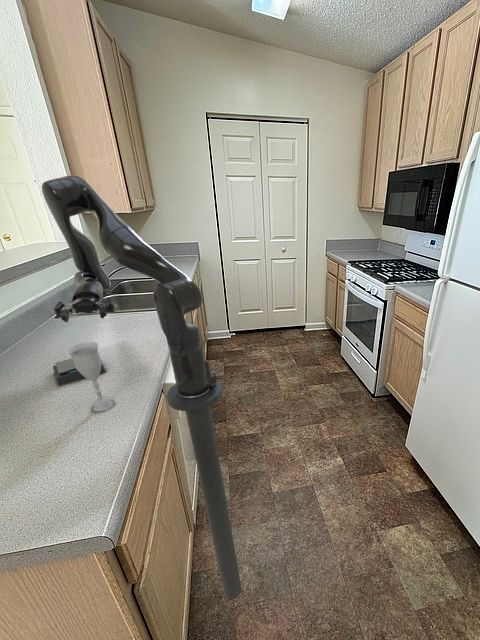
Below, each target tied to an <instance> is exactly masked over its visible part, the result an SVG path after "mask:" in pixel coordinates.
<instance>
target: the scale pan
mask: <svg viewBox="0 0 480 640" xmlns="http://www.w3.org/2000/svg"><path fill="white" fill-rule="evenodd" d="M54 364H55V365H56V367H57V370H58V372H59V374H62V373H66V372H69V371H73V370H76V367H75V364H74V362H73V359H72V358H67V359H64V360H60V361H57V362H54Z"/></svg>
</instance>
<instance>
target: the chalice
mask: <svg viewBox="0 0 480 640" xmlns="http://www.w3.org/2000/svg"><path fill="white" fill-rule="evenodd" d="M98 349H99V343H98V342H95V341H89V342H87V341H86V342H82V343H78V344H75V345H73V346H71V347H69V348H68V349H67V350H66V352H67V353H68V354H69V355H70V356H71V359H73V362H74V364H75V367H76V369H77V370H78V371H79V372H80V374H82V375H83V376H84V377H85V378H84V379H86V380H87V381H90V382H91V381H92V383H93V384H92V388H94V390H95V391H94V394H96V395H97V398H95V400H94V401H93V408H92V410H93V411H94V412H105V411H106V410H109V409H110V408H113V405H114V402H113V401H112V400H111V399H110V398H109V397H108V396H104V395H102V389H101V388H100V383H98V381H97V379H99V378H100V375H101V374H100V371H101V363H102V359H101V356H100V353H99V350H98Z"/></svg>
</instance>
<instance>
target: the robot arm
mask: <svg viewBox="0 0 480 640" xmlns="http://www.w3.org/2000/svg"><path fill="white" fill-rule="evenodd" d="M41 192H42V196H43V198H44V201H45V203H46V205H47V207H48V209H49V211H50V213H51V215H52V217H53V219H54V221H55V223H56V225H57V227H58V228H59V231H60V232H61V233H62V236H63V238H64V240H65V242H66V244H67V246H68V249H69V252H70V255H71V258H72V261H73V263H74V267H75V268H76V269H77V270H78V271H77V272H75V274H74V275H73V276H74V277H73V281H74V285H75V287H76V288H75V289H74V292H73V295H72V299H71V301H70V302H69V303H65V302H64V301H58V302H57V303H56V305H55V307H53V310H54V313H55V317H56V318H61V321H64V323H68V322H69V320H70V317H72V316H74V317H75V316H79V315H80V314H99V316H100V319H105V317H107V315H108V313H115V311H116V310H115V303H114V301H113V298H112V297H107V299H106V300H104V294H103V293H104V292H105V291H108V290H109V289H110V287H111V279H110V276H109V275H108V273H107V272H106V270H105V269H104V267H103V266H102V264H101V262H100V259H99V255H98V251H97V248H96V245H95V244H94V242H93V241H92V240H91V239H90V238H89V237H88V236H87V235H86V234H84V233H82V232H81V231H80V230H79V229H77V228H76V227H75V226H74V225H73V223H72V221H71V217H74V216H77V215H80V214H84V213H87V212H88V213H91V214H92V215H93V216H94V217H95V218H96V220H97V227H98V229H97V230H98V238H99V242H100V245H101V247H102V248H103V249H104V251H106V252H107V253H108V254H109V255H110V256H111V257H112V258H113V259H114V260H115V261H116V262H117V263H118V264H120V265H121V266H122V267H124V268H125V269H128V270H130V271H133V272H135V273H138V274H139V275H143V276H145V277H147V278H150V279H152V280H154V281H156V282H158V284H157V285H156V286H155V287H154V290H153V293H152V295H153V297H152V298H153V303H154V306H155V311H156V314H157V317H158V321H159V324H160V328H161V330H162V333H163V334H164V336H165V339H166V343H167V349H168V353H169V357H170V363H171V366H172V371H173V375H174V380H175V384H176V385H177V390H178V395H179V396H180V397H182V398H185V399H194V398H199V397H202V396H204V395H205V394H207V393H208V392H209V391H210V390H212V389H213V387H212V384H215V383H216V381H218V378H217V376H216V375H215V374H214V373H213V372H211V369H210V363H209V360H207V359H206V355H205V350H204V348H205V347H204V343H203V337H202V330H201V328H200V326H199V325H198V324H196V323H190V322H186V317H185V315H187V314H189V313H191V312H193V311H196V310H198V309H199V308H200V307H201V306H202V305H203V302H204V301H203V300H204V299H203V298H204V297H203V293H202V291H201V289H200V287H199V286H198V284H196V282H195V281H194V280H193V279H191V278H190V277H189V276H188V275H186V274H185V273H184V272H183V271H181V270H180V269H179V268H177V267H176V266H175V265H174V264H173V263H171V262H170V261H168V260H167V259H166V258H165V257H164V256H162V255H161V253H159V252H158V251H157V250H155V249H154V248H153V247H152V246H151V245H150V243H148V242H147V241H146V240H145V239H144V238H143V237H142V236H141V235H140V234H139V233H138V232H137V231H136V230H135V229H133V228H132V227H131V225H129V224H128V223H127V222H125V221H124V220H123V219H122V218H121V217H120V216H119V215H118V214H117V213H116V212H115V211H114V210H113V209H112V208H111V207H110V206H109V205H108V204H107V203H106V202H105V200H104V199H103V198H102V197H101V196H100V194H98V193H97V191H96V190H95V189H94V188H93V187H92V186H91V185H90V184H89V182H87V181H86V180H85V179H83V178H82V177H81V176H79V175H77V174H70V175H66V176H60V177H55V178H52V179H48V180H45V181H44V182H43V183H42V184H41Z"/></svg>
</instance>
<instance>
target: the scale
mask: <svg viewBox="0 0 480 640" xmlns="http://www.w3.org/2000/svg"><path fill="white" fill-rule="evenodd" d="M52 369H53V371H54V375H55V378H56V381H57V383H58V386H59V387H60V386H64V385H66V384H71V383H73V382H77V381H80V380H84V379H86V378H85V377H84V376H83V375H82V374H80V372H79V371H78V370H77V369H76V370H73V371H69V372H66V373H62V374H59V372H58V370H57V367H56V364H55V365H52ZM105 373H106V369H105V367H104V365H103V363H102V362H101V371H100V375H101V374H105Z"/></svg>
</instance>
